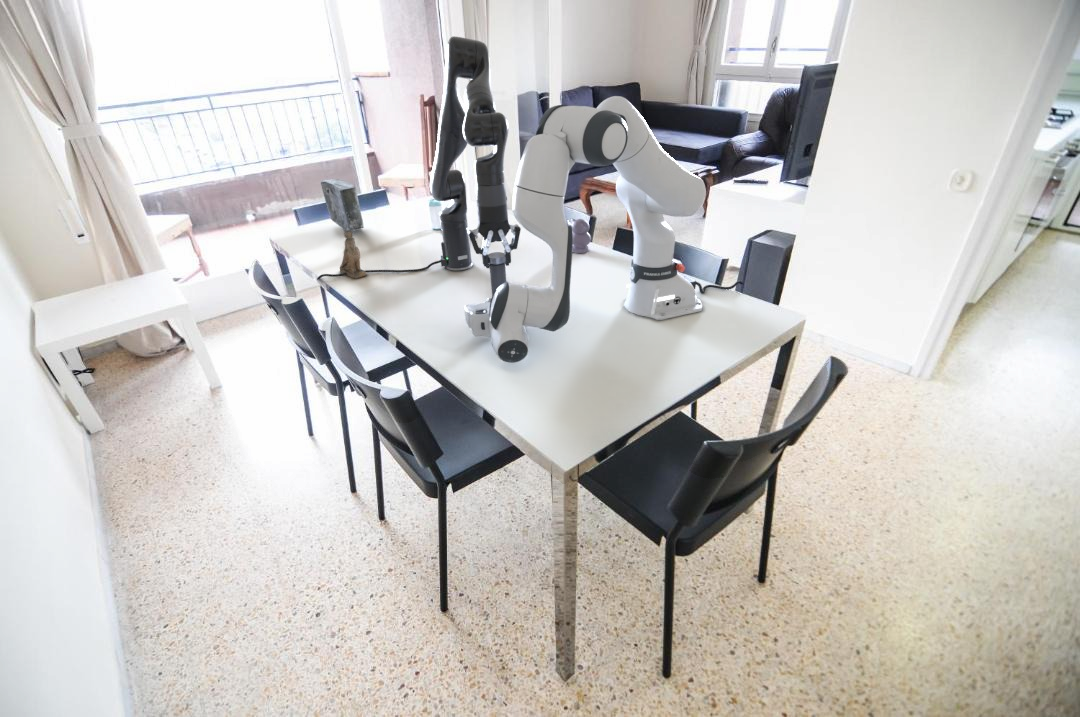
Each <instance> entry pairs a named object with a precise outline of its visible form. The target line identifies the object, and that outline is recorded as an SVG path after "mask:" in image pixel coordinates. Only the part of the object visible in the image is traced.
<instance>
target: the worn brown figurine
mask: <svg viewBox="0 0 1080 717" xmlns="http://www.w3.org/2000/svg"><path fill="white" fill-rule="evenodd" d="M343 236H344V238H346V239H345V240H344V249H343V253H342V254H343V255H342V261H341V264H340V266H339V273H340V274H343V273H347V275H346V276H347V277H350V278H352V279H356V280H357V279H360V278H362V277H366V276H367V273H365V270H363V269H362V268H361V252H360V249H359V247H358V246H357V244H356V243H357V242H356V239H355V237H354V234H353V231H350V230H348V231H346V230H345V232H344V234H343Z"/></svg>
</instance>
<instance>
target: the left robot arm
mask: <svg viewBox="0 0 1080 717" xmlns="http://www.w3.org/2000/svg"><path fill="white" fill-rule="evenodd" d="M459 78H460V79H465V80H470V81H469V82H468V83H467V85H466V86H465V88H464V91H463V94H464V95H463V99H462V96H461V94H460V91H459V87H458V85H457V80H458V79H459ZM443 80H444V81H443V94H442V101H441V108H440V115H439V120H438V128H437V142H436V150H435V156H434V160H433V165H432V170H431V173H430V180H429V189H430V193H431V196H432V199H435V200H437V201H442V202H447V201H450V202H449V204H448V205H447V206H446V207H444V209H443V210H442V211H441V212H440V223H441V229H440V230H441V235H442V242H441V243H440V246H441V250H442V251H441V253H442V255H440V260H435V261H433V262H431V263H429V264H428V265H427V266H424V267H421V268H415V269H413V268H412V269H367V270H366V269H365V270H364V271H365V273H366V274H368V273H414V272H415V273H417V272H422V271H425V270H429V268H431V267H432V266H433V265H437V264H440V267H444V269H445V270H449V271H454V272H459V271H467V270H469V269H471V268H472V266H473V260H472V250H471V245H472V247H473V251H474V252H475V254H476V255H481V260H482V264H483V267H484V268H486V269H490V268H489V258H488V254H489V253H488V251H489V248H490V246H491V244H492V243H495V242H498V243H500V242H501V244H502V246H503V248H504V250H503V253H505V255H506V262H505V267H509V266H510V264H511V263H512V251H513V250H517V249H518V247H519V246H518V244H519V240H520V235H521V229H522V228H521V227H520V225H519V224H511V223H510V221H509V215H508V214H509V213H508V196H507V189H506V183H505V169H504V168H505V167H504V161H505V151H506V147H507V143H508V142H507V141H508V137H509V122H508V120H507V117H506V116H505V115H504V114H503V113H502V112H498V111H497V108H496V104H495V101H494V96H493V93H492V76H491V59H490V51H489V48H488V46H487V44H486V43H485V42H483V41H481V40H477V39H471V38H467V37H461V36H450V38H448V40H447V44H446V51H445V61H444V77H443ZM467 146H471V147H475V148H480V147H492V146H493V149H492V151H491V152H490V153H488V154H486V155H482V156H480V157H478V158H476V159H475V160H474V164H473V168H474V177H475V178H474V179H475V198H476V199H475V200H476V207H477V209H476V210H477V217H478V218H477V219H478V225H477V227H476V228H475V229H469V224H468V216H467V213H468V204H467V202H468V201H467V186H466V180H465V178H464V175H463V173H462V172H461V171H460V170H459V169H451V168H452V166H453V165H454V163H455V162H456V161H457V160H458V159H459V157H460V156H461V155H462V154H463V152H464V151H465V149H466V148H467ZM509 231H510V233H512V236H511V241H510V244H509V242H508V240H507V237H506V236H507V235H508V233H509ZM478 234H480V236H482V238H483V239H482V245H481V247H479V245H478V242H477V240H476V239H478ZM343 276H344V277H345V276H347V273H336V274H333V273H323V274H320V275H319V276H317V278H316V280H321V279H322V278H323V277H329V278H330V277H332V278H335V277H336V278H337V277H338V278H339V277H343Z"/></svg>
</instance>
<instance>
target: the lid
mask: <svg viewBox="0 0 1080 717" xmlns="http://www.w3.org/2000/svg"><path fill="white" fill-rule="evenodd" d="M487 254H488V258H489V263H490V264H502V263H504V262H506V255H505V253H504V252H502V251H495V252H490V253H487Z"/></svg>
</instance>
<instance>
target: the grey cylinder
mask: <svg viewBox="0 0 1080 717" xmlns="http://www.w3.org/2000/svg"><path fill="white" fill-rule="evenodd" d="M488 269H489V278H490V279H489V280H490V289H491V290H490V291H491V296H492V295H493V293H494V291H495V290H496V289H497V288H498V287H499V286H500V285H502V284H503V283H505V282H507V271H506V264H505V262H504V263H502V264H490V263H489V268H488Z"/></svg>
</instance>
